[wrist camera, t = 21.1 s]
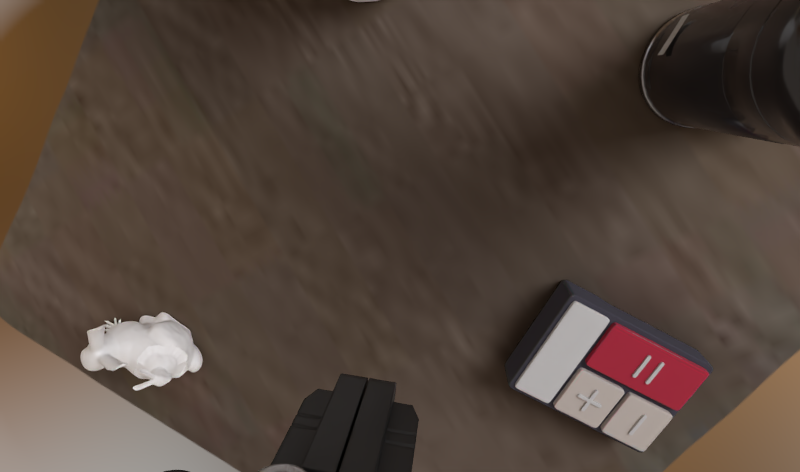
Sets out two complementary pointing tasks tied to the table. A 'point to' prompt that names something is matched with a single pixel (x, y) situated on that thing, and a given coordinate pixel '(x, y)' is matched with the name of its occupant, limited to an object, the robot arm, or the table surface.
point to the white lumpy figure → (143, 349)
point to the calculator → (605, 367)
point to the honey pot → (363, 0)
